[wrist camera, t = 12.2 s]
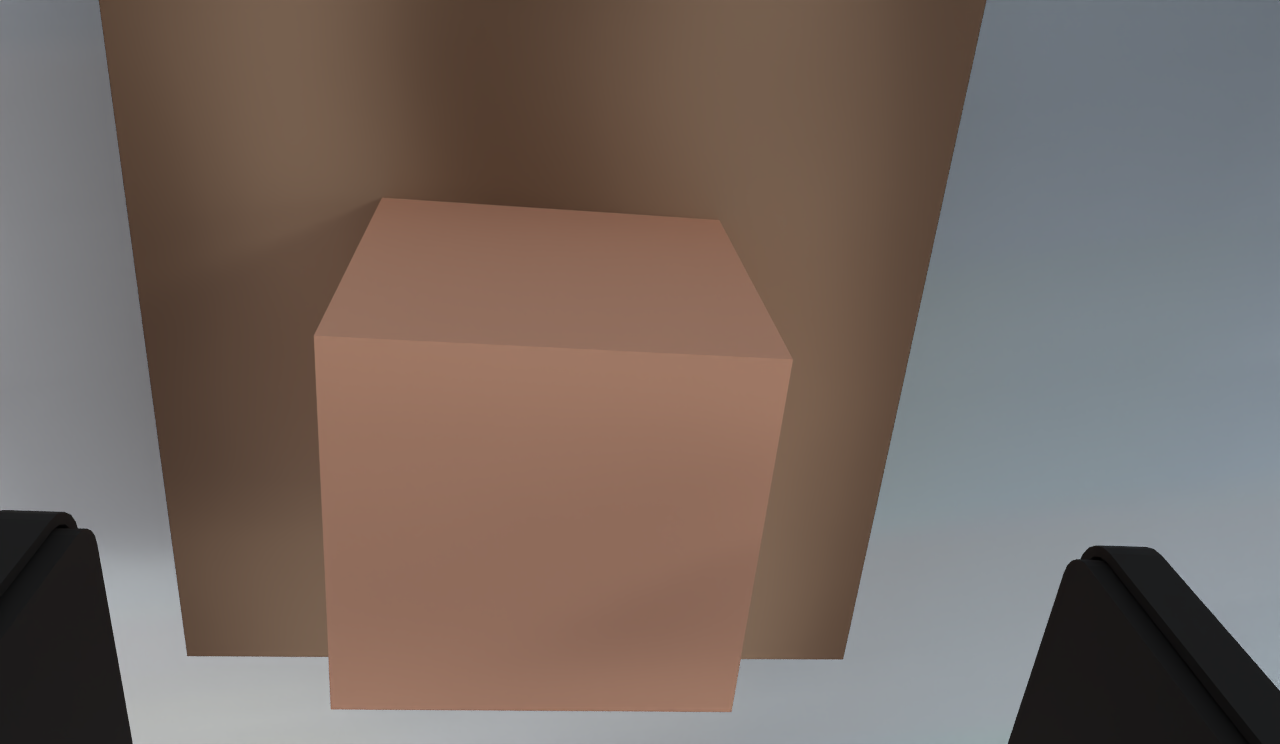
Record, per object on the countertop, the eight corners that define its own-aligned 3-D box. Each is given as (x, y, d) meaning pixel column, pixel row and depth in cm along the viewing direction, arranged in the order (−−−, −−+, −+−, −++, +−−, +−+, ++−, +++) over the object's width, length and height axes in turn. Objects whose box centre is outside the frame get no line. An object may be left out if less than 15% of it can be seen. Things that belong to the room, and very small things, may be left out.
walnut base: (897, -28, 18) (987, -6, 14) (795, 538, 23) (842, 659, 19) (185, -91, 17) (87, -82, 13) (245, 527, 22) (187, 656, 18)
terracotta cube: (719, 219, 15) (792, 358, 11) (682, 499, 18) (731, 712, 13) (381, 197, 15) (314, 336, 10) (385, 489, 17) (331, 709, 12)
